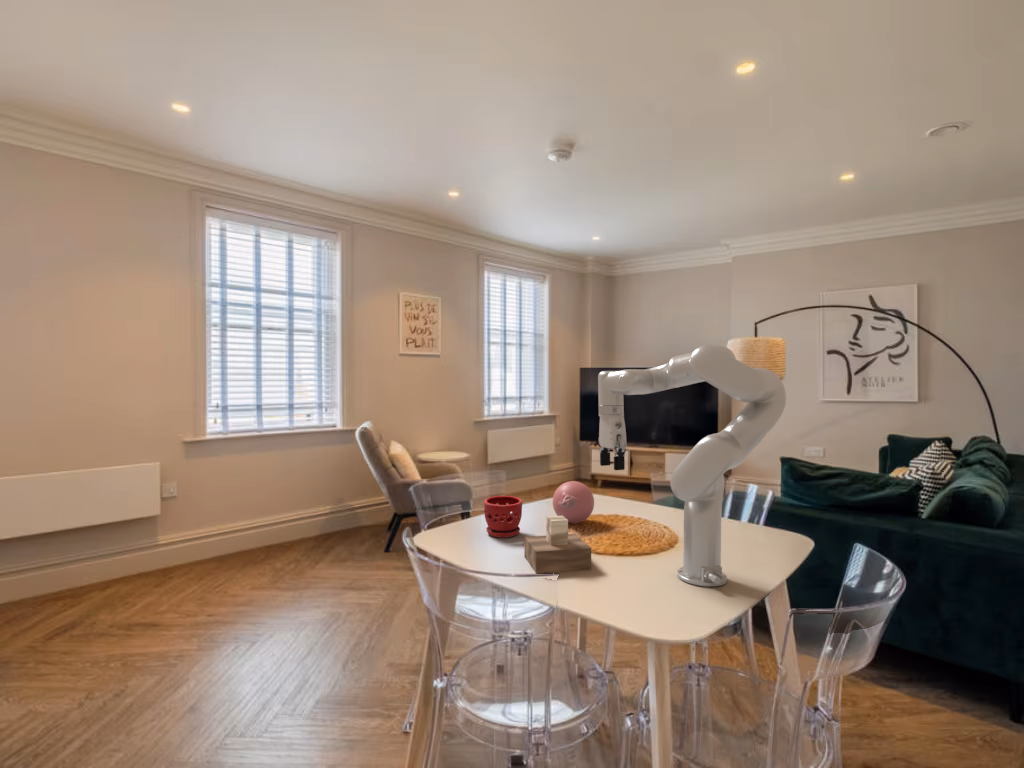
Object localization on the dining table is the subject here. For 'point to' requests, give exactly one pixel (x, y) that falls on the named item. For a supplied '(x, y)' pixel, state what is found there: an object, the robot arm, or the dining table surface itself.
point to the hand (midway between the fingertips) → (612, 467)
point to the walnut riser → (557, 554)
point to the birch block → (557, 530)
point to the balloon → (573, 501)
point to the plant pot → (503, 515)
